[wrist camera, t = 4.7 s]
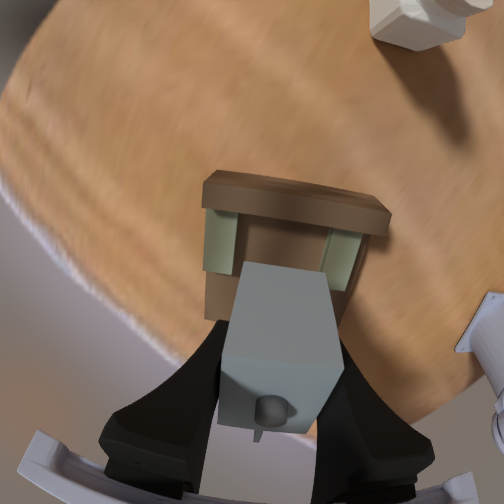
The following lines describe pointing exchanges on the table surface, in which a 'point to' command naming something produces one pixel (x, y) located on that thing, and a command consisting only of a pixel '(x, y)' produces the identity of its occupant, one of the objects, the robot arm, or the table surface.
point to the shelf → (284, 233)
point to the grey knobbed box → (279, 351)
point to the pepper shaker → (422, 21)
